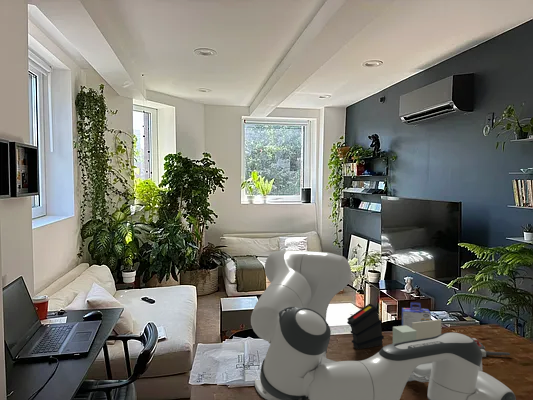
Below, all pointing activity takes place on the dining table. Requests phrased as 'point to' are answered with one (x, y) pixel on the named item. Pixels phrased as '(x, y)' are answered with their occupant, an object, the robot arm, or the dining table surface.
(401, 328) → the box
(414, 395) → the dining table surface
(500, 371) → the dining table surface
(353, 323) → the magazine
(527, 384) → the dining table surface
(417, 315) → the ink cartridge box
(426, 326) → the carton
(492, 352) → the walkie-talkie
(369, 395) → the robot arm
